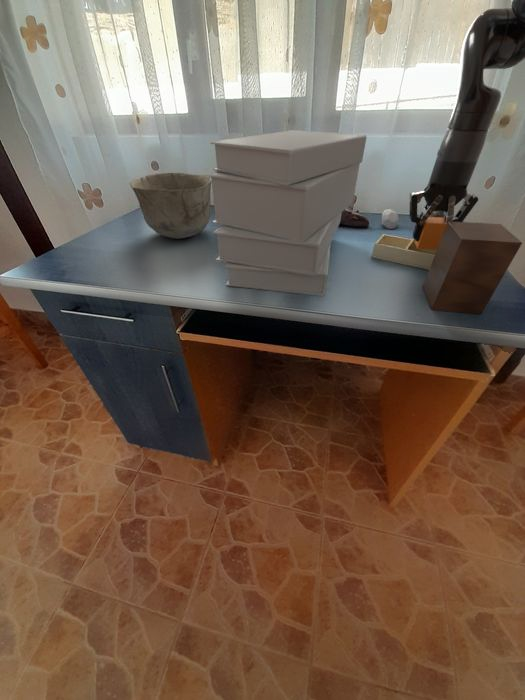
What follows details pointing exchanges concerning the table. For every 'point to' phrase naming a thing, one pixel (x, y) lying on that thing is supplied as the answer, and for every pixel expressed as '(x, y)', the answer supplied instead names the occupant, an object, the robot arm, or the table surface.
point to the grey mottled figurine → (438, 214)
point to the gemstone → (390, 218)
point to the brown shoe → (353, 219)
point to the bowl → (174, 202)
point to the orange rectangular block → (431, 233)
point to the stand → (469, 266)
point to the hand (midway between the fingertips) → (427, 240)
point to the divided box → (402, 252)
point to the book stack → (282, 206)
